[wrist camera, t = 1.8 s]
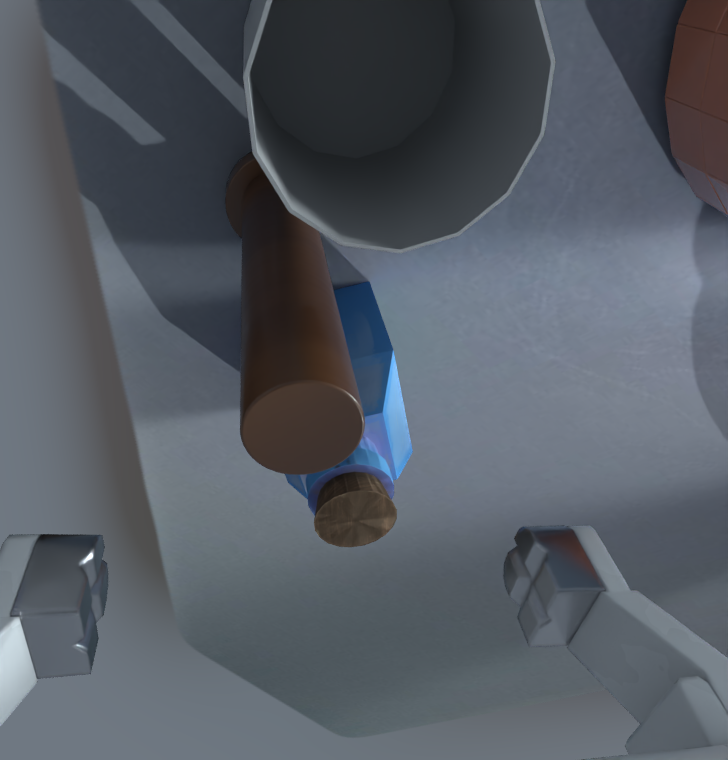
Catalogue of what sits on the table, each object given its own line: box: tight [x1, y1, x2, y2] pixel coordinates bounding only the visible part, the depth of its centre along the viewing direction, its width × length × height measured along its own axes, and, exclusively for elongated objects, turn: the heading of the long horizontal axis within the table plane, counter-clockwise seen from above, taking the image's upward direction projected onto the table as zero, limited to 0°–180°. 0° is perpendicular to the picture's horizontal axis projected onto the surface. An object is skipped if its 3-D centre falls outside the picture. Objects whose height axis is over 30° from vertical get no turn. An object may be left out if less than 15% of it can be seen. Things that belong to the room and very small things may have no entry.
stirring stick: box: [225, 152, 365, 475], centre depth 21 cm, size 4×4×16 cm
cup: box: [243, 0, 556, 253], centre depth 20 cm, size 8×8×10 cm
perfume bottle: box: [285, 282, 413, 547], centre depth 28 cm, size 6×6×12 cm
